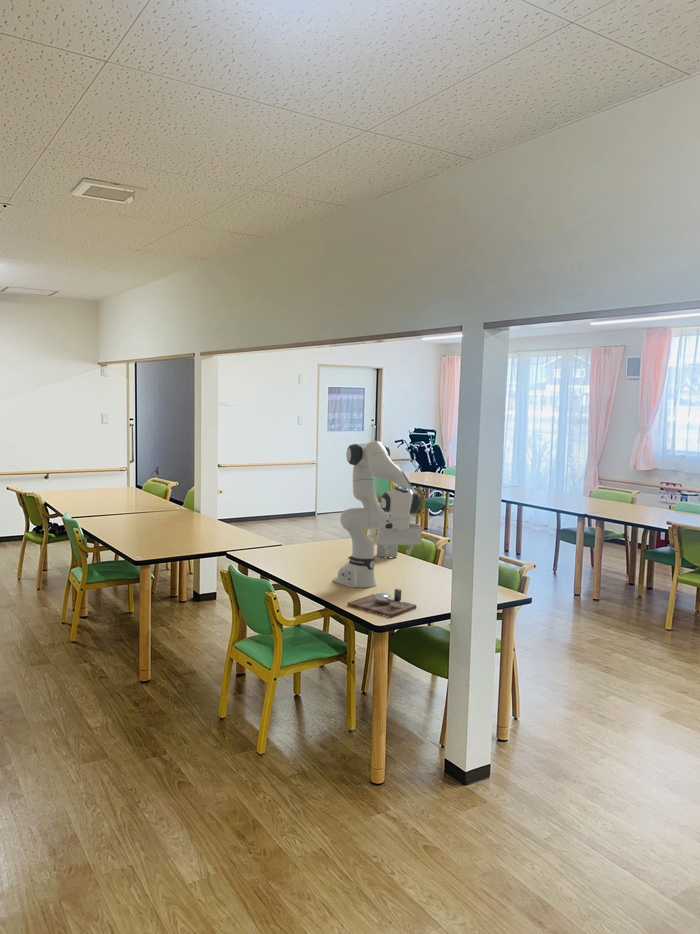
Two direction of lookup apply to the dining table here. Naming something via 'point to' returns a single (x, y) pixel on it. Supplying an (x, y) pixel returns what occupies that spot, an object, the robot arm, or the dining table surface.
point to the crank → (389, 598)
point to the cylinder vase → (392, 548)
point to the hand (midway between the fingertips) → (398, 554)
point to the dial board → (381, 606)
